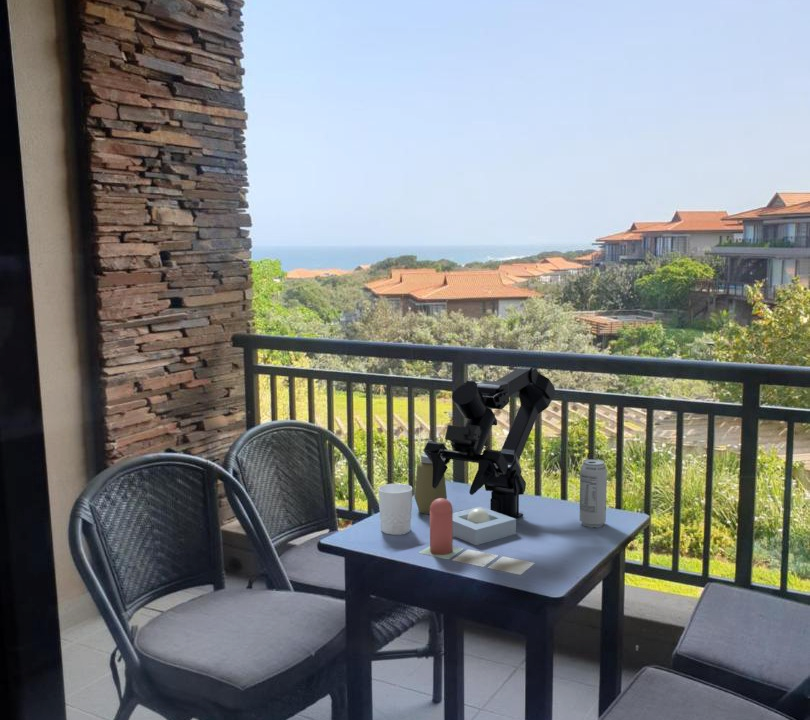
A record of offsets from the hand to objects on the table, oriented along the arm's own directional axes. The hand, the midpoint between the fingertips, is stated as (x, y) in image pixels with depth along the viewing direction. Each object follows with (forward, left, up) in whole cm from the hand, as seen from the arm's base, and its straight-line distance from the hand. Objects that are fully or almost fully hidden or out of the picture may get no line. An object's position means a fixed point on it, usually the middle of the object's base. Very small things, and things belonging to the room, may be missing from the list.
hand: (451, 490), depth 171 cm
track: (+1, +9, -13) cm, 16 cm away
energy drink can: (-36, +9, -13) cm, 39 cm away
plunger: (-10, -2, -12) cm, 16 cm away
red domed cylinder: (+4, +2, -12) cm, 13 cm away
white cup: (+3, -16, -13) cm, 21 cm away
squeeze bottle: (-12, -22, -13) cm, 28 cm away
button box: (-10, -2, -13) cm, 16 cm away
